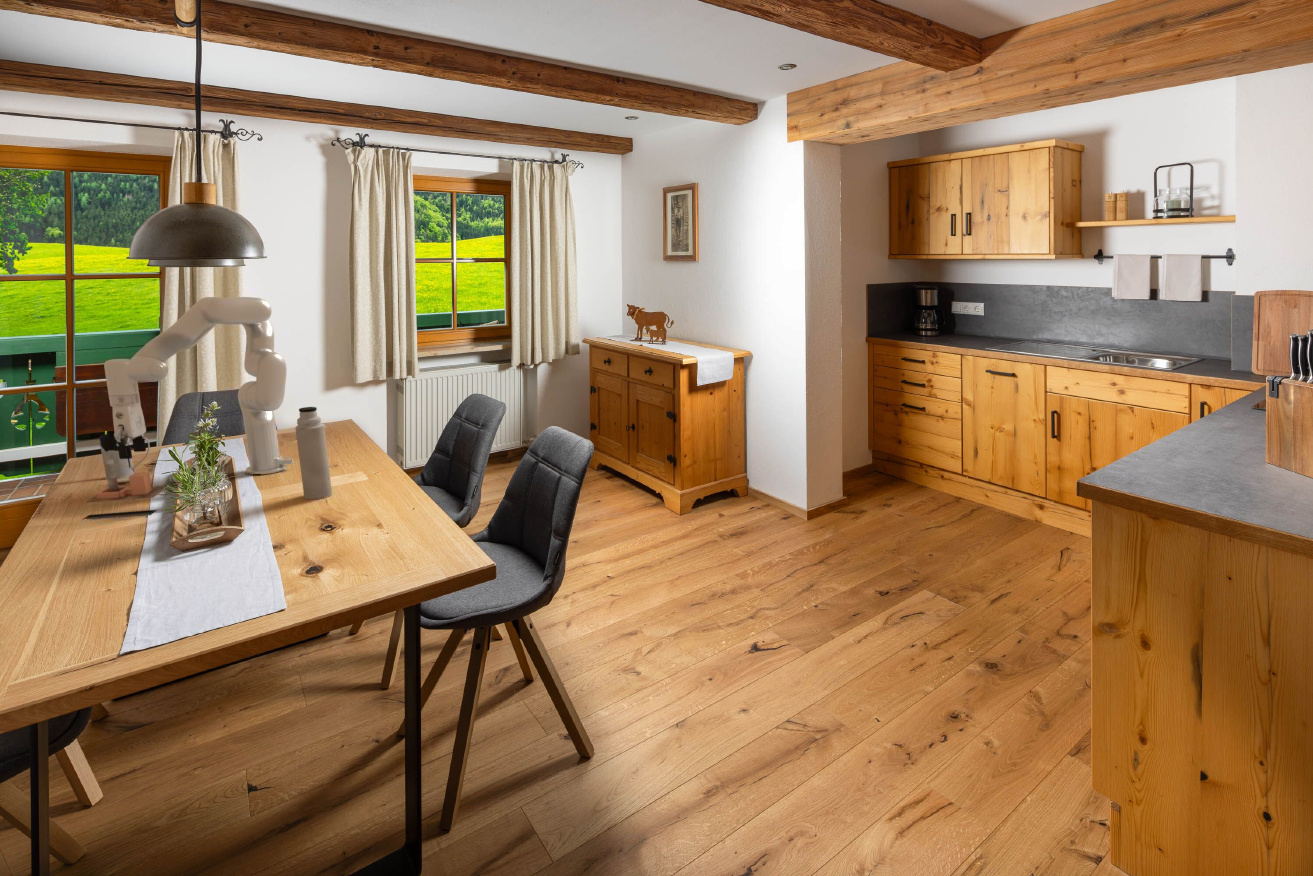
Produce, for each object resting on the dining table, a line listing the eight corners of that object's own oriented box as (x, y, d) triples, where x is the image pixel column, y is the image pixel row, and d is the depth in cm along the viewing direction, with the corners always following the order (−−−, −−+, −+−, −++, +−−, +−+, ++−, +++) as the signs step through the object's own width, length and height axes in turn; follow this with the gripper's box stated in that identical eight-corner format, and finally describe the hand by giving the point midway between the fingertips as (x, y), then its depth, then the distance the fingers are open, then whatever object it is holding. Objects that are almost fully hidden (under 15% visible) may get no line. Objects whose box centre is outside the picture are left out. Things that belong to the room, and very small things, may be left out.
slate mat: (166, 502, 225) (166, 501, 225) (150, 515, 213) (150, 513, 213) (103, 507, 221) (103, 505, 221) (83, 520, 210) (82, 518, 209)
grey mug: (108, 476, 255) (100, 433, 251) (157, 471, 260) (149, 429, 257) (101, 482, 247) (93, 439, 243) (151, 477, 252) (144, 434, 249)
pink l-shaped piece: (154, 488, 234) (151, 470, 232) (144, 495, 227) (140, 476, 225) (106, 492, 231) (103, 473, 229) (95, 499, 224) (91, 480, 222)
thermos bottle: (310, 492, 234) (299, 405, 227) (336, 491, 234) (326, 405, 228) (299, 499, 226) (288, 410, 220) (326, 499, 226) (315, 409, 220)
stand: (170, 489, 238) (164, 452, 235) (154, 502, 225) (147, 462, 222) (107, 494, 234) (100, 456, 231) (86, 507, 221) (78, 467, 218)
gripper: (126, 404, 216) (134, 460, 219) (150, 395, 232) (158, 448, 236) (96, 405, 214) (105, 462, 218) (123, 396, 230) (131, 449, 234)
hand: (133, 454), depth 227 cm, fingers open, 9 cm apart
